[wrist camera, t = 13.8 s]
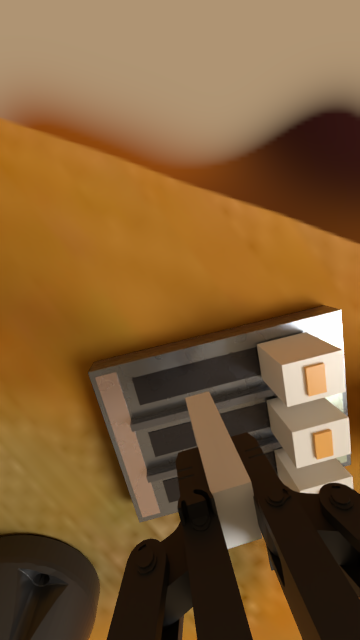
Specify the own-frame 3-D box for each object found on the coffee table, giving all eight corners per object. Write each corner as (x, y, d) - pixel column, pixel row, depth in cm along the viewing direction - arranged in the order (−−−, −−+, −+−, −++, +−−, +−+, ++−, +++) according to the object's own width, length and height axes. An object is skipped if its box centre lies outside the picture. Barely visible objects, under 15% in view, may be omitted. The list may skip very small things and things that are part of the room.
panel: (140, 501, 25) (139, 531, 22) (94, 362, 21) (85, 377, 18) (335, 448, 25) (357, 471, 23) (324, 305, 22) (348, 311, 19)
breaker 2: (271, 430, 22) (298, 470, 17) (266, 400, 21) (293, 434, 17) (316, 419, 22) (353, 455, 18) (312, 388, 21) (351, 419, 17)
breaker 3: (278, 477, 23) (305, 525, 19) (274, 450, 22) (301, 493, 18) (320, 465, 23) (356, 510, 19) (318, 438, 22) (354, 478, 18)
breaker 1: (261, 378, 20) (288, 408, 16) (256, 344, 20) (283, 366, 15) (309, 366, 20) (348, 393, 16) (306, 331, 20) (345, 351, 16)
